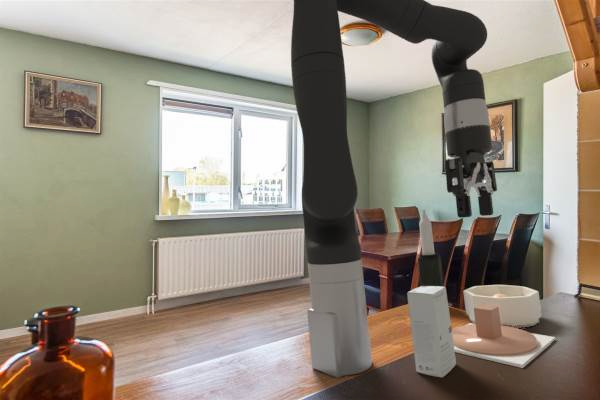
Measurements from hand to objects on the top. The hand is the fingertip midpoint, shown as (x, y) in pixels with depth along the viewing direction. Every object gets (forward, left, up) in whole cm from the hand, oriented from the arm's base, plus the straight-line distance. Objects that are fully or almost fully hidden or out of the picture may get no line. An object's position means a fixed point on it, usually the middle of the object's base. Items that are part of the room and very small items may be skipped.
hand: (476, 216), depth 64 cm
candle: (+17, +21, -23) cm, 35 cm away
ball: (+15, +4, -19) cm, 25 cm away
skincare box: (-15, +2, -23) cm, 27 cm away
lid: (0, 0, -22) cm, 22 cm away
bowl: (+15, +4, -23) cm, 27 cm away
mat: (0, 0, -23) cm, 23 cm away
